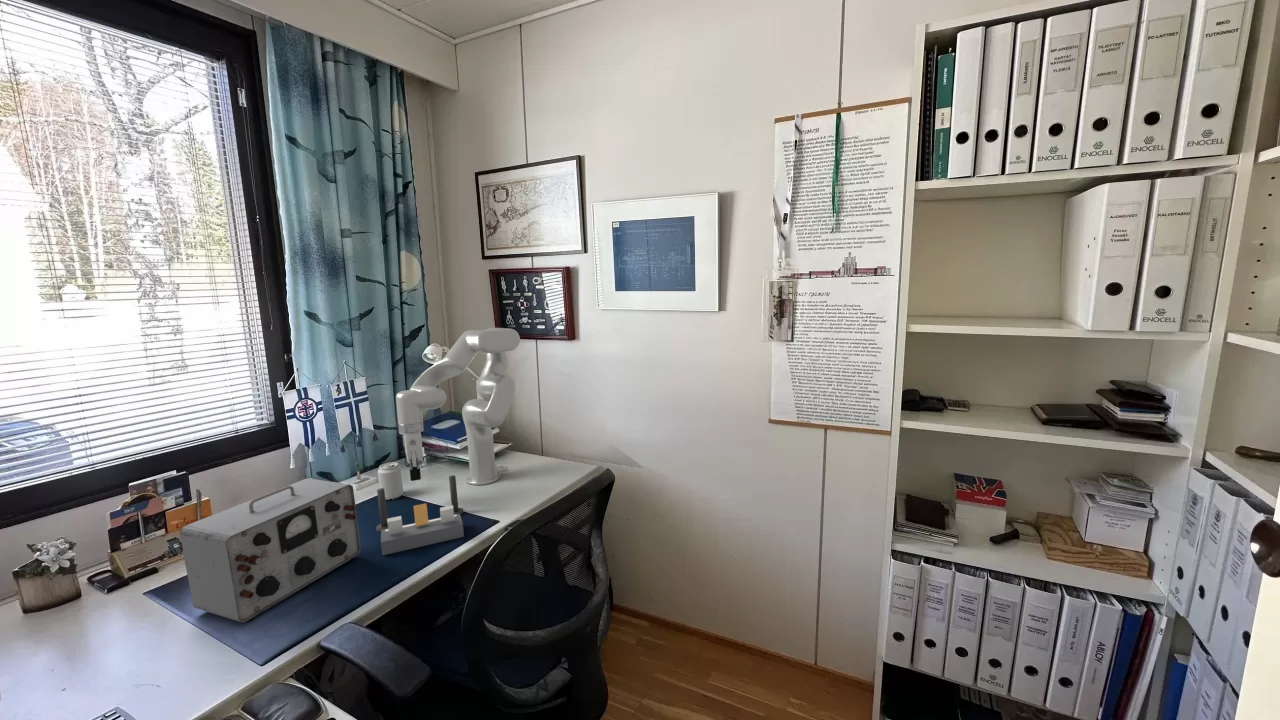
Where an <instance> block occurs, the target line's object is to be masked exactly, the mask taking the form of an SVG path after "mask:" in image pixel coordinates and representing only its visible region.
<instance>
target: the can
mask: <svg viewBox="0 0 1280 720" xmlns="http://www.w3.org/2000/svg"><path fill="white" fill-rule="evenodd" d="M377 479H378V486H379V487H378V489H381V488H384V491H385V500H387V501H390V499H392V500H396V499H398V498H400V497H401V496H402V495H403V494H404V487H403V476H402V468H401V466H400V465H399V463H398V462H397V461H396V462H395V461H393V462H385V463H383V464H381V465H379V468H378V470H377ZM395 498H396V499H395Z"/></svg>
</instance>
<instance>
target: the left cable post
mask: <svg viewBox="0 0 1280 720" xmlns="http://www.w3.org/2000/svg"><path fill="white" fill-rule="evenodd" d="M376 493H377V494H376V495H377V501H378V502H377V503H378V509H379V518H380V524H377V525H376V527H375V531H376V532H378V533H381V530H385V529H388V523H387V519H388V510H387V509H388V508H387V502H386V500H385V491H384V488H381V489H380V488H378V489H377V490H376Z"/></svg>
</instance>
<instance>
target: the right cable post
mask: <svg viewBox="0 0 1280 720" xmlns="http://www.w3.org/2000/svg"><path fill="white" fill-rule="evenodd" d="M456 477H457V476H456V475H449V476H448V479H449V480H448V481H449V492H450V501H451V506H452V505H453V510H454V515H455V514H461V515H463V514H464V508H463V507H459V502H458V501H459V500H458V491H457V490H458V489H457V488H458V487H457V478H456ZM462 513H463V514H462Z"/></svg>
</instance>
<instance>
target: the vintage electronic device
mask: <svg viewBox="0 0 1280 720" xmlns="http://www.w3.org/2000/svg"><path fill="white" fill-rule="evenodd" d="M355 498H356V497H355V491H354V487H353V485H352V484H349V483H343V482H342V483H341V482H336V481H329V480H322V479H316V478H315V479H314V478H311V477H310V478H309V477H308V478H304V479H302V480H299V481H297V482H294V483H291V484H288V485H287V486H283V487H280V488H278V489H276V490H273V491H271V492H268V493H265V494H263V495H260V496H258V497H255V498H253V499H250V500H248V501H245V502H242V503H240V504H237V505H234V506H232V507H230V508H227V509H225V510H222V511H220V512H217V513H214V514H212V515H210V516H207V517H204V518H202V519H199V520H196V521H193V522H192V523H188V524H186V525H185V526H183V527H182V528H181V529H179V530H180V532H179V536H180V542H181V549H182V552H183V559H184V564H185V568H186V569H185V570H186V575H187V579H188V585H189V591H190V596H191V602H192V606H193V608H194V609H197V610H199V611H200V610H201V611H204V612H207V613H210V614H213V615H217V616H221V617H223V618H227V619H230V620H233V621H236V622H239V623H249V622H251V621H253V620H254V619H255V618H256V617H257V616H258V615H259V614H261V613H263V612H264V611H267V610H268V609H269V608H272V607H273V606H275V605H276V604H278V603H280V602H281V601H283V600H285V599H286V598H287V597H290V596H292V595H293V594H294V593H296V592H298V591H300V590H302V589H303V588H305V587H307V586H309V585H310V584H312V583H313V582H315V581H316V580H318V579H320V578H322V577H324V576H325V575H327V574H328V573H331V572H332V571H333V570H335V569H337V568H338V567H340V566H342V565H346V564H348V563H350V561H351V560H353V559H354V558H356V557H357V556H358V555H359V554H360V553H361V549H362V548H361V547H362V546H361V541H360V533H359V532H360V531H359V524H358V514H357V507H356V499H355Z"/></svg>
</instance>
